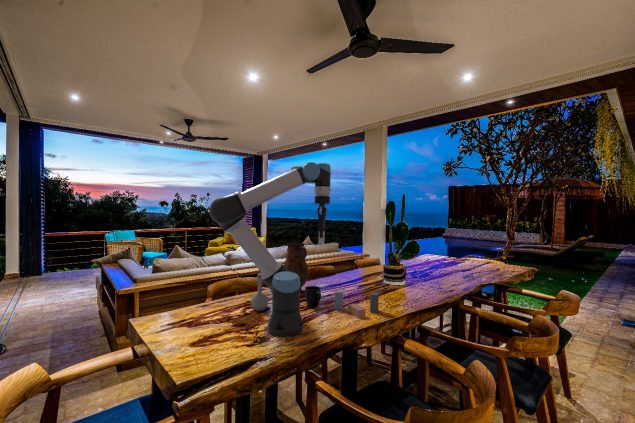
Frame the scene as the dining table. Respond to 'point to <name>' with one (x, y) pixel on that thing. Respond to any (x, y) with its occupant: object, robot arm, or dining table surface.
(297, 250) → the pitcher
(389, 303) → the dining table surface
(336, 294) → the slate block
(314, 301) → the mug
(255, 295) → the potion bottle
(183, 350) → the dining table surface
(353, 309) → the terracotta block
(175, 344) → the dining table surface
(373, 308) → the charcoal block
